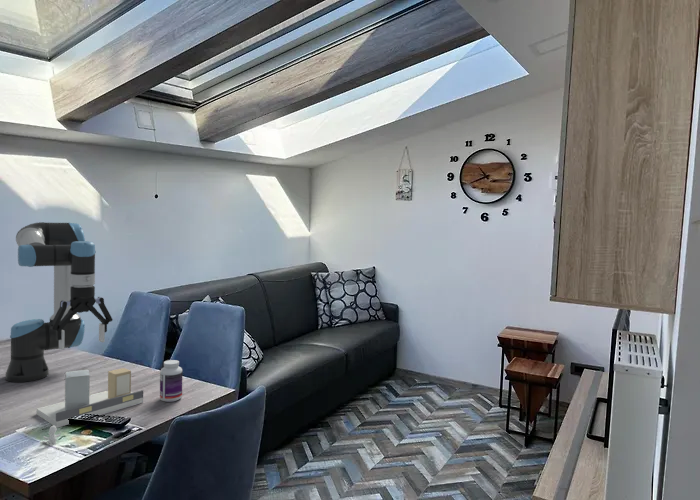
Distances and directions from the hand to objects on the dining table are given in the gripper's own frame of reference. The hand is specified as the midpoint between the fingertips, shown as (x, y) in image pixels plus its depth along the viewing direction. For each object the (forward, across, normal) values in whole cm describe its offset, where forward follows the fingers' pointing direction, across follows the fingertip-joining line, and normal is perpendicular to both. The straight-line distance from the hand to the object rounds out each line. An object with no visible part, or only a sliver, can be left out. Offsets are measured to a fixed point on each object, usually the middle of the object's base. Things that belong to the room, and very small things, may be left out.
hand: (82, 345), depth 176 cm
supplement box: (+21, -3, -4) cm, 22 cm away
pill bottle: (+23, +27, -14) cm, 38 cm away
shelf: (+23, +3, -2) cm, 23 cm away
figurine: (+23, -18, -21) cm, 36 cm away
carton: (+21, +12, -4) cm, 25 cm away
